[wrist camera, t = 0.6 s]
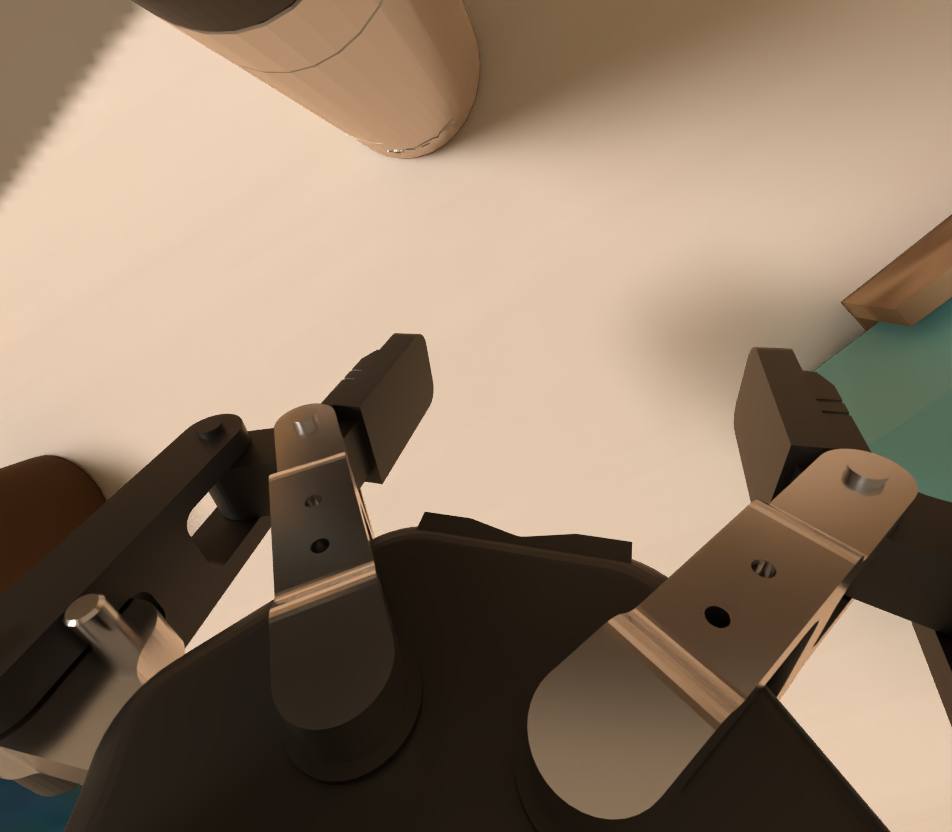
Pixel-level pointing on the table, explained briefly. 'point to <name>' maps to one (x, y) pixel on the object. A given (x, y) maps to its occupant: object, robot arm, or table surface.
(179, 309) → the table surface
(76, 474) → the olive oil
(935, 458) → the plunger
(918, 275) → the slot block
